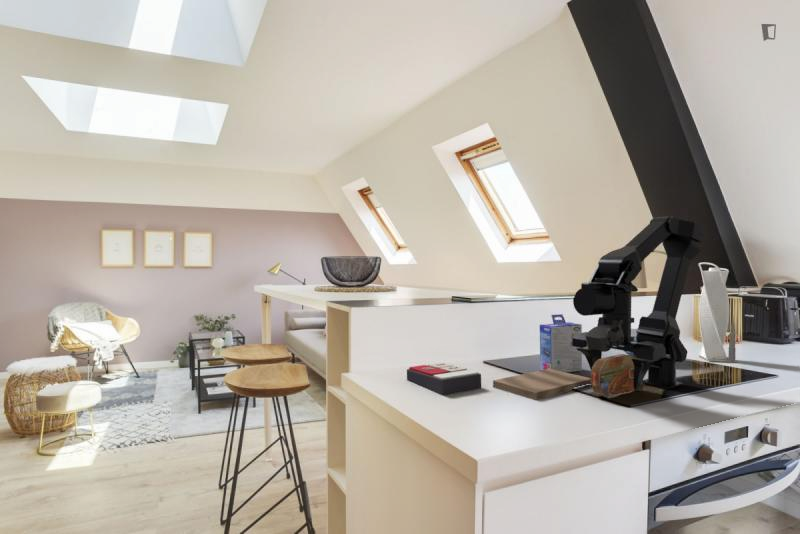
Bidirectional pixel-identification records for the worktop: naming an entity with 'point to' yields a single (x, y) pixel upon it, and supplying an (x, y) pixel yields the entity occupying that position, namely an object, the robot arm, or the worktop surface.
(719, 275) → the skyscraper
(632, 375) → the tin
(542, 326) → the ink cartridge box
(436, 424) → the worktop surface
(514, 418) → the worktop surface
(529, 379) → the walnut board
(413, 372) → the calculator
